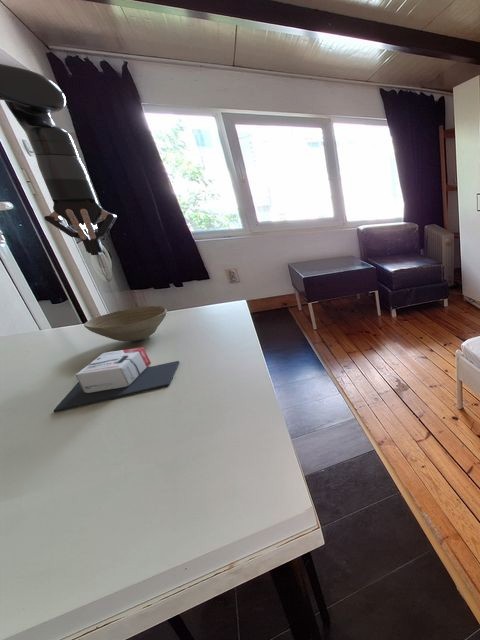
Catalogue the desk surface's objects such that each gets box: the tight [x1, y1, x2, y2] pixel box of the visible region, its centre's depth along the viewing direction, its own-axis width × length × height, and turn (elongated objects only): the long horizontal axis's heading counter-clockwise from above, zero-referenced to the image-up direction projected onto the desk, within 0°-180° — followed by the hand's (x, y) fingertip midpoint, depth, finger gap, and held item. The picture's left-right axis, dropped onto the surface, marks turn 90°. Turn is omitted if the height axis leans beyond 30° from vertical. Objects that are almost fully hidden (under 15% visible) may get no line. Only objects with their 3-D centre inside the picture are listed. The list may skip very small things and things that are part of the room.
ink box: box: [74, 347, 152, 393], centre depth 86 cm, size 8×5×12 cm
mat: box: [53, 360, 180, 413], centre depth 85 cm, size 20×13×1 cm, turn 117°
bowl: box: [83, 305, 168, 342], centre depth 107 cm, size 18×18×8 cm
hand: (97, 254), depth 91 cm, fingers closed
